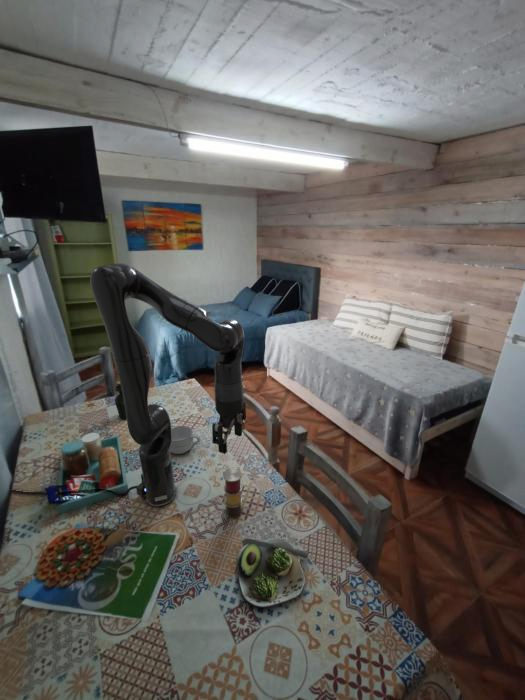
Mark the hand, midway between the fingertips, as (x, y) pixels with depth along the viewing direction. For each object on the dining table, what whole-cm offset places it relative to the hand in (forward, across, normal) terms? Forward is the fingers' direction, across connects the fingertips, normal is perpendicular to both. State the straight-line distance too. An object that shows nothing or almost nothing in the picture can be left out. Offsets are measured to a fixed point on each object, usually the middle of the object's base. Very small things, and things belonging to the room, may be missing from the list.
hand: (230, 443), depth 90 cm
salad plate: (+26, +13, +18) cm, 34 cm away
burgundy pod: (+16, 0, 0) cm, 16 cm away
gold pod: (+21, 0, 0) cm, 21 cm away
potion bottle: (+26, -25, -73) cm, 82 cm away
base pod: (+26, 0, 0) cm, 26 cm away
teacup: (+26, -17, -33) cm, 45 cm away
